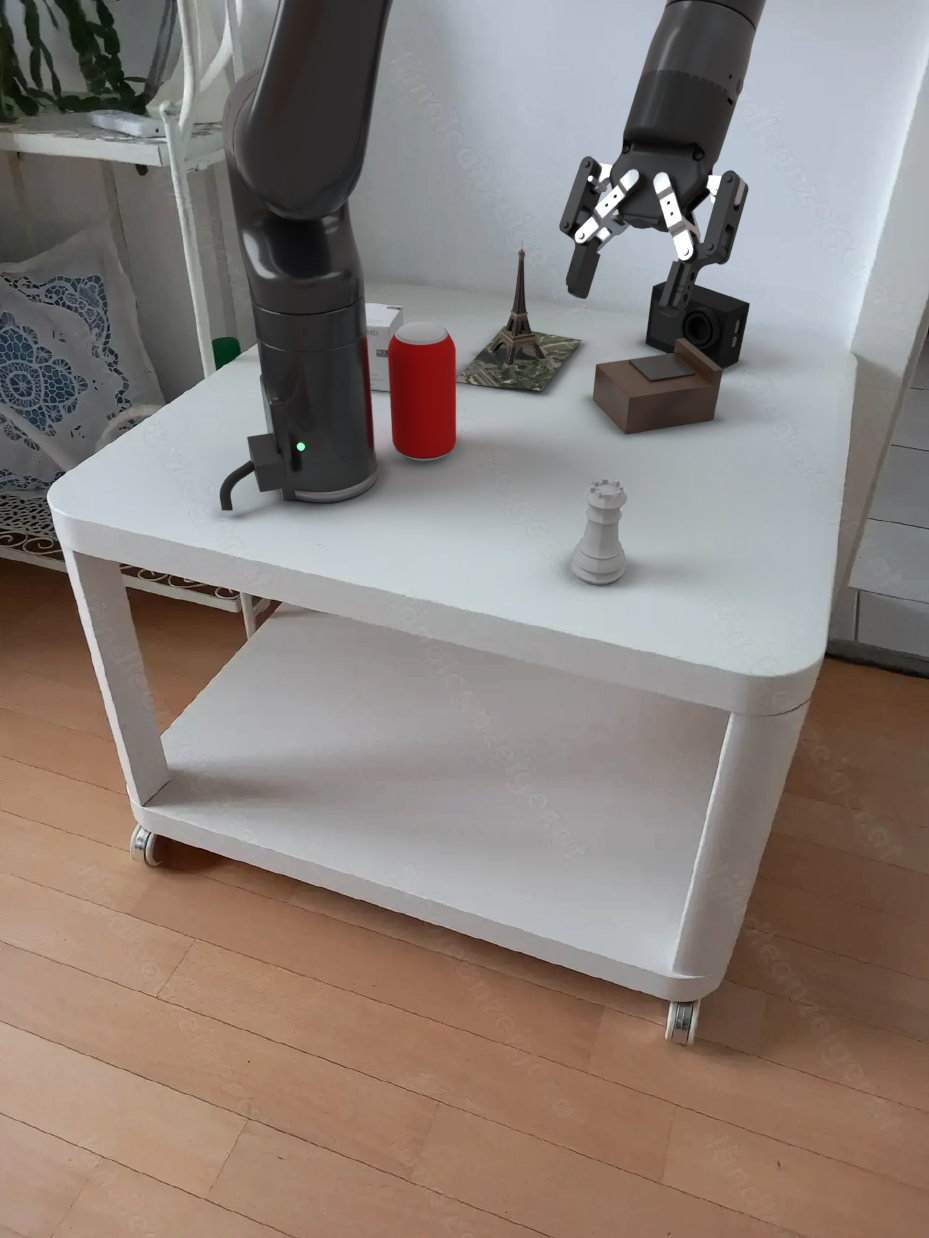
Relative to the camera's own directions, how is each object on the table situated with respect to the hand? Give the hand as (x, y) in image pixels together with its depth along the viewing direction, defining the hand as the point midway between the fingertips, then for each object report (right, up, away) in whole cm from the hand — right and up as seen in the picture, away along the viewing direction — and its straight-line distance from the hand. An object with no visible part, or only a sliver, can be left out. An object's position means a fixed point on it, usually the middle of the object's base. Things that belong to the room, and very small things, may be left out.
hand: (620, 305), depth 74 cm
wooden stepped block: (+7, -3, +24) cm, 25 cm away
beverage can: (-16, -9, +17) cm, 25 cm away
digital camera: (+13, +6, +34) cm, 37 cm away
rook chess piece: (-2, -21, +2) cm, 21 cm away
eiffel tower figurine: (-6, +4, +33) cm, 33 cm away
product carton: (-22, +2, +29) cm, 37 cm away
